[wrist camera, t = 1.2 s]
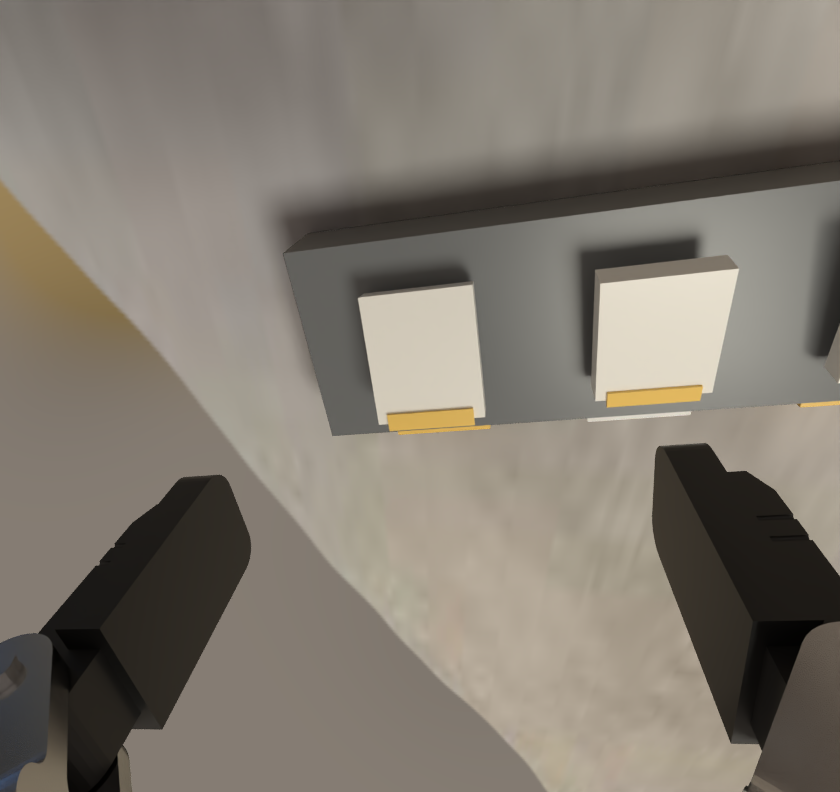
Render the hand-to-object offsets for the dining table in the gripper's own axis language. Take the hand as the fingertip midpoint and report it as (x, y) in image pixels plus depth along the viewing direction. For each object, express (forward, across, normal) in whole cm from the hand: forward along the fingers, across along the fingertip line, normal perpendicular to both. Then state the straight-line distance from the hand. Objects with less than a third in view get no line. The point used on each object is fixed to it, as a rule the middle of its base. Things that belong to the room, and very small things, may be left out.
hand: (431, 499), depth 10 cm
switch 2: (+14, -8, +3) cm, 17 cm away
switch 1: (+14, +2, +3) cm, 15 cm away
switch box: (+20, -8, +3) cm, 22 cm away
